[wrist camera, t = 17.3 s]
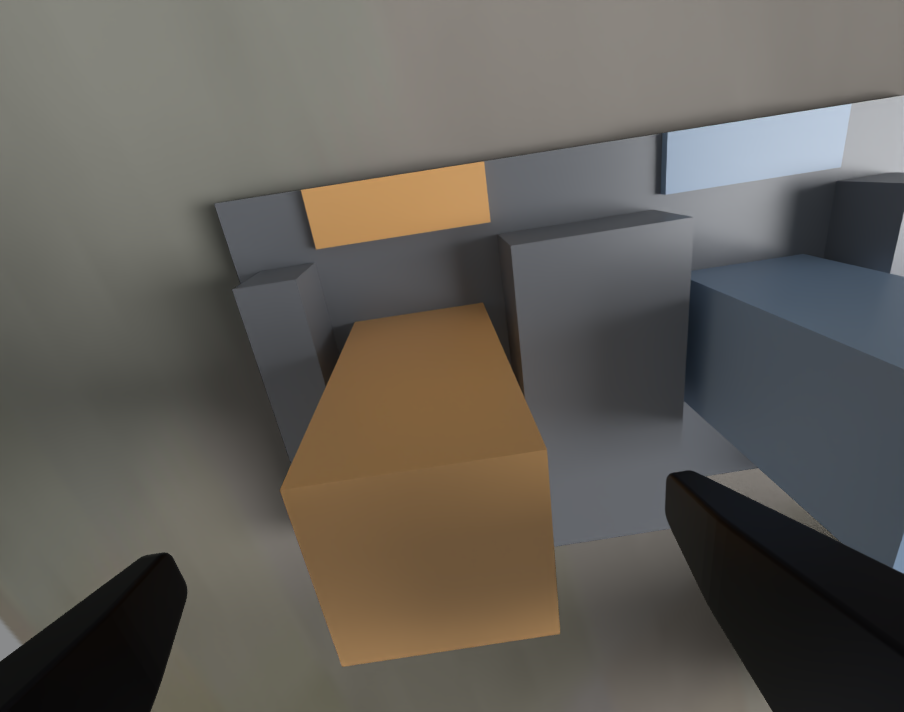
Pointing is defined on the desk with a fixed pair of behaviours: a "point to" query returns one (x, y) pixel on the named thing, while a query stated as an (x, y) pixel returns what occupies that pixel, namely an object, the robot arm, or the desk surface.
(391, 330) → the tan rectangular box
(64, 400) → the desk surface
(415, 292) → the grey slotted base
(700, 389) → the blue plug
